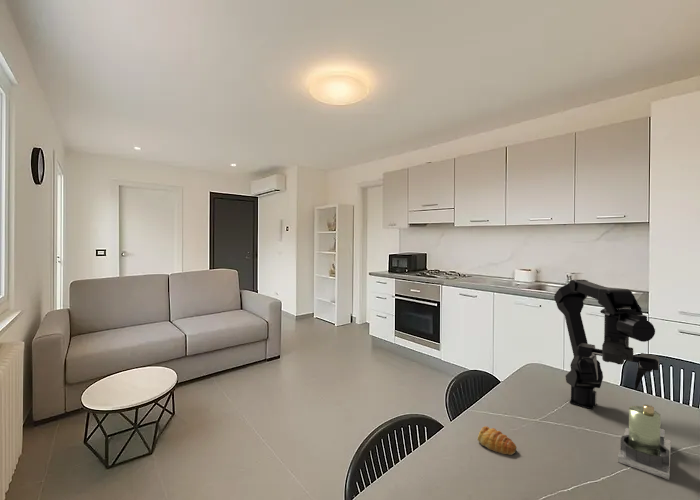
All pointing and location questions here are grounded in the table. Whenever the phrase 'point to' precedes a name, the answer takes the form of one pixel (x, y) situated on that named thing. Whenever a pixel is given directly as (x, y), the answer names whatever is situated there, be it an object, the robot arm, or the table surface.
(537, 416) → the table surface
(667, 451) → the grey piece
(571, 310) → the robot arm
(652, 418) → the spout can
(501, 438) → the pastry
